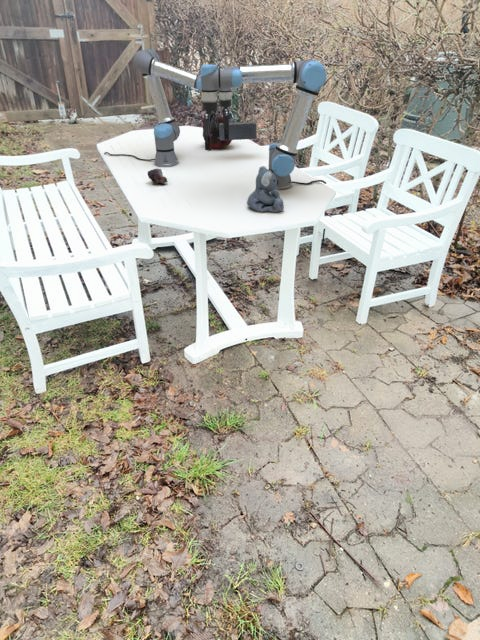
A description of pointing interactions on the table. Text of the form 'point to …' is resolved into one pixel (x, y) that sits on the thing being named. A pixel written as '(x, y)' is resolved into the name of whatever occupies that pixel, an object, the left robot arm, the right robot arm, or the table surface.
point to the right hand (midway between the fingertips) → (211, 146)
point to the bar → (239, 130)
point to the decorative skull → (220, 142)
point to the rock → (157, 176)
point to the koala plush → (265, 193)
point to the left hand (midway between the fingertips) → (226, 138)
